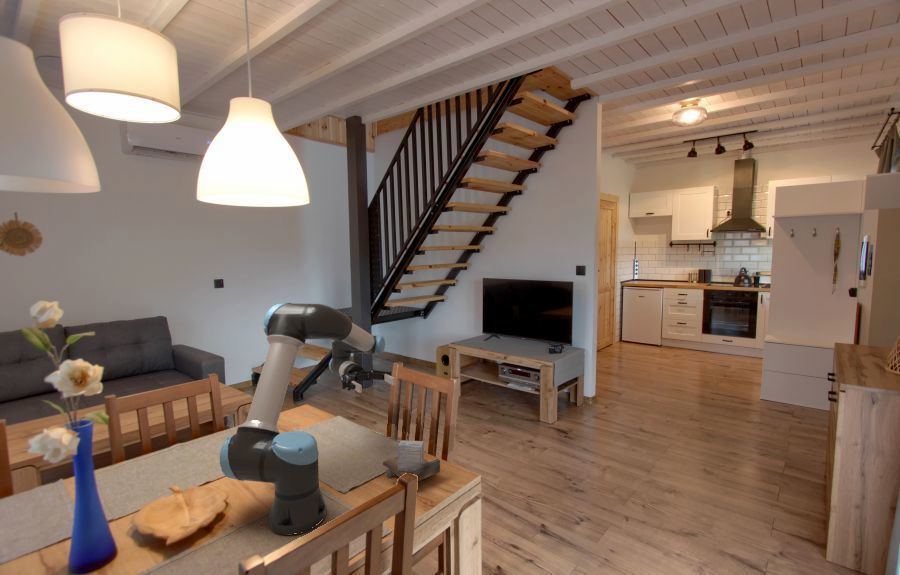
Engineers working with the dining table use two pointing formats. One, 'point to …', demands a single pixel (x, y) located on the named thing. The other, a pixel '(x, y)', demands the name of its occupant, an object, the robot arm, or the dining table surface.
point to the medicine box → (410, 455)
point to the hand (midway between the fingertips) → (377, 385)
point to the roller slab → (420, 471)
